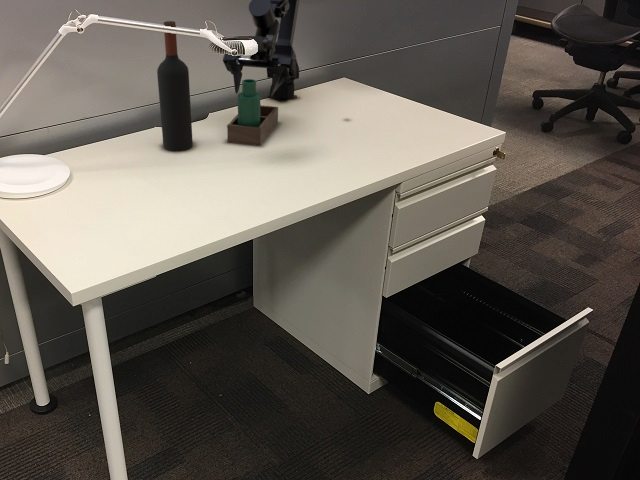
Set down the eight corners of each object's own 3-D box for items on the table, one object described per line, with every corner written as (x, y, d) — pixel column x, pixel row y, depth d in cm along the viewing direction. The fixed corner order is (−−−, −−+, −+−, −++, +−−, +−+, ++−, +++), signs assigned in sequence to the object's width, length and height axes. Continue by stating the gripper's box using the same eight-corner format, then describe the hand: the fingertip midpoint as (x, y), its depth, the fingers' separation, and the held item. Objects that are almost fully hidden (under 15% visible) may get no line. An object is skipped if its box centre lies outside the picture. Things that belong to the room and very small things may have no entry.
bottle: (235, 132, 177) (234, 79, 169) (255, 129, 178) (255, 76, 170) (242, 140, 172) (242, 85, 164) (263, 137, 174) (264, 83, 166)
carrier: (247, 120, 187) (247, 103, 184) (277, 123, 184) (278, 106, 182) (227, 142, 173) (227, 125, 171) (260, 145, 171) (260, 128, 168)
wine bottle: (157, 148, 171) (146, 24, 153) (173, 138, 176) (164, 17, 159) (182, 153, 168) (174, 27, 150) (198, 143, 173) (191, 20, 156)
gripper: (223, 19, 170) (210, 75, 167) (295, 23, 165) (282, 81, 163) (234, 43, 180) (222, 96, 178) (301, 48, 175) (290, 103, 173)
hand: (253, 94), depth 173 cm, fingers open, 9 cm apart
